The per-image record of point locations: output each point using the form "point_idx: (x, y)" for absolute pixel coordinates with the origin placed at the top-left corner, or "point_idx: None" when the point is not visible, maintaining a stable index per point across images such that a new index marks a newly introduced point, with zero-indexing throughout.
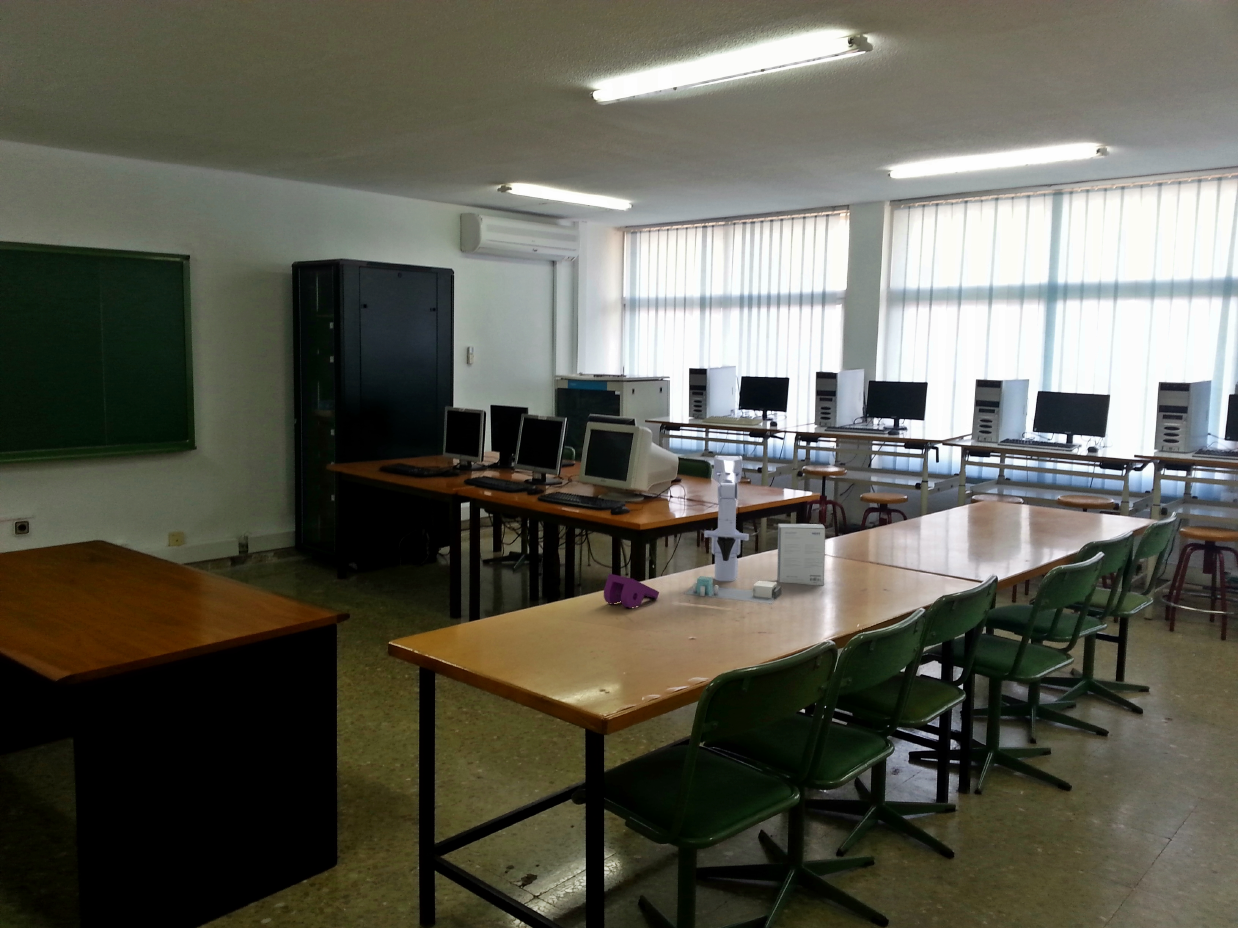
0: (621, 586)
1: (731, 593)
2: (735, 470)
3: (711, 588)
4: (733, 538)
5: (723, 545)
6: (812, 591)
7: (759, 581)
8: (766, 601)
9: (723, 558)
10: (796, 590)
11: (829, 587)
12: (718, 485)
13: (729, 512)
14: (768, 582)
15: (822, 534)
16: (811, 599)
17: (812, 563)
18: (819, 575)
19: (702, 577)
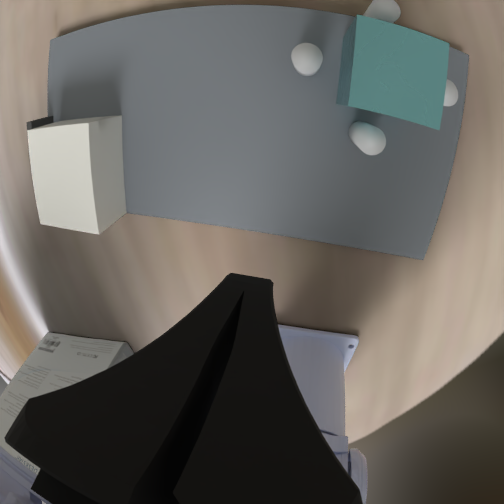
0: None
1: (226, 117)
2: None
3: (341, 83)
4: (31, 487)
5: (214, 422)
6: (36, 280)
7: (89, 216)
8: (65, 58)
9: (262, 289)
10: (62, 283)
11: (36, 320)
12: None
13: None
14: (58, 210)
15: None
16: (5, 193)
17: (32, 373)
18: (39, 349)
19: (423, 89)
